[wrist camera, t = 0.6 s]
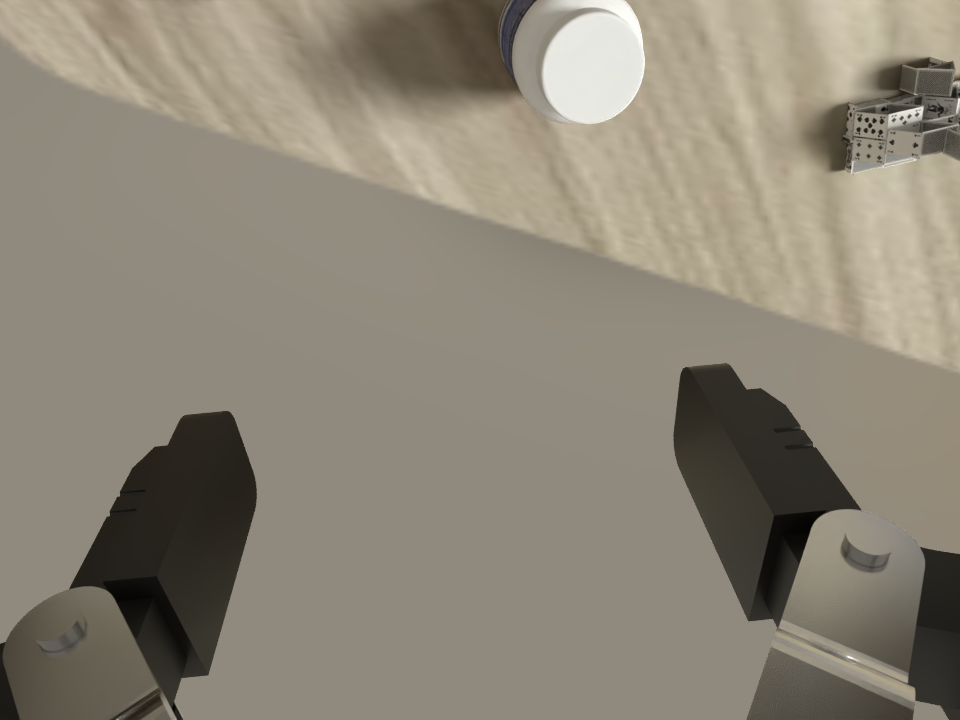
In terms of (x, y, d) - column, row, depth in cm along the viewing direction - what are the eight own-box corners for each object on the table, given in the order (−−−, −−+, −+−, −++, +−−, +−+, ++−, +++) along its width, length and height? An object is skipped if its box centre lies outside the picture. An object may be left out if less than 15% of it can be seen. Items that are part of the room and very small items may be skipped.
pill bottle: (492, 87, 35) (513, 140, 27) (501, -34, 32) (528, -17, 24) (595, 94, 35) (648, 146, 27) (613, -25, 32) (678, -6, 24)
